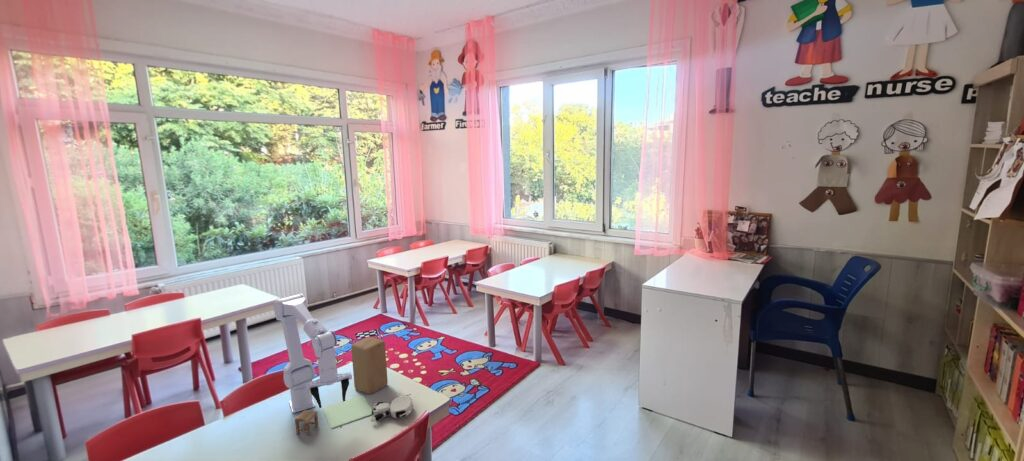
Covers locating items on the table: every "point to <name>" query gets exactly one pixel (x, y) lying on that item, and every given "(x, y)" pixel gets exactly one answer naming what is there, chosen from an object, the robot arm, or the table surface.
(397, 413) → the robot toy
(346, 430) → the table surface
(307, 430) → the brown handled box
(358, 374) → the wooden block
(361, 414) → the sage mat
